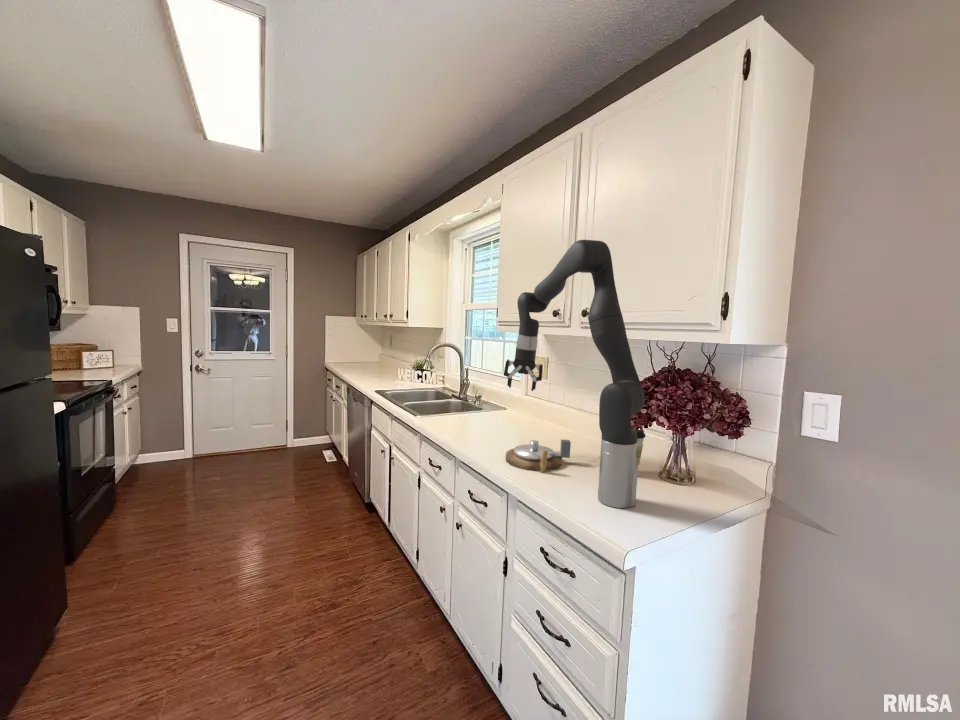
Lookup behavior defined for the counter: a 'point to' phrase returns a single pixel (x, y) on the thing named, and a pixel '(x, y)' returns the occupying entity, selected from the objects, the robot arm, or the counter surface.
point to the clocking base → (534, 462)
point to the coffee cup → (639, 446)
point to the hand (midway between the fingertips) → (521, 388)
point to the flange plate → (535, 449)
